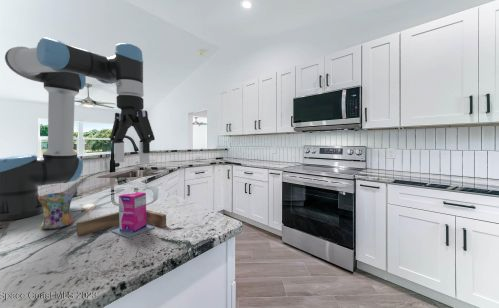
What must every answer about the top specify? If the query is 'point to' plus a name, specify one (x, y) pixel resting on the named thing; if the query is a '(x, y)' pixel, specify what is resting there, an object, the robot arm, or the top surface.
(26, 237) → the top surface
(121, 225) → the supplement box
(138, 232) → the pad
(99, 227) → the wooden l-shaped corner
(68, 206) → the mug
